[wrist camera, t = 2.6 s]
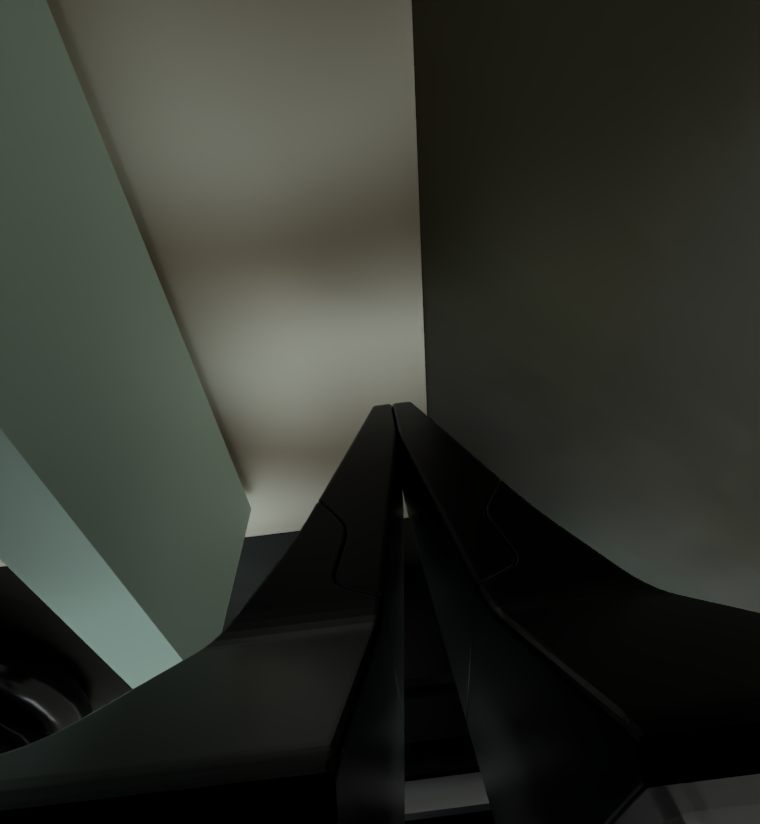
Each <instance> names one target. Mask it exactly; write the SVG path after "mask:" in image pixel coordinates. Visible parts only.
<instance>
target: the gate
mask: <svg viewBox="0 0 760 824" xmlns="http://www.w3.org/2000/svg"><path fill="white" fill-rule="evenodd" d="M250 513H251V507H250V504H249V502H248V499H247V497H246V494H245V492H244V489H243V487H242V484H241V482H240V479H239V477H238V474H237V472H236V469H235V467H234V465H233V462H232V460H231V457H230V455H229V452H228V450H227V447H226V445H225V442H224V440H223V437H222V435H221V432H220V430H219V427H218V425H217V422H216V420H215V417H214V415H213V412H212V410H211V408H210V405H209V403H208V400H207V398H206V395H205V393H204V390H203V388H202V385H201V383H200V380H199V378H198V375H197V373H196V370H195V368H194V365H193V363H192V360H191V358H190V355H189V353H188V351H187V348H186V346H185V343H184V341H183V338H182V336H181V333H180V331H179V328H178V326H177V323H176V321H175V318H174V316H173V313H172V311H171V308H170V306H169V303H168V301H167V298H166V296H165V294H164V291H163V289H162V286H161V284H160V281H159V279H158V276H157V274H156V271H155V269H154V266H153V264H152V261H151V259H150V256H149V254H148V251H147V249H146V246H145V244H144V241H143V239H142V237H141V234H140V232H139V229H138V227H137V224H136V222H135V219H134V217H133V214H132V212H131V209H130V207H129V204H128V202H127V199H126V197H125V194H124V192H123V189H122V187H121V184H120V182H119V180H118V177H117V175H116V172H115V170H114V167H113V165H112V162H111V160H110V157H109V155H108V152H107V150H106V147H105V145H104V142H103V140H102V137H101V135H100V132H99V130H98V127H97V125H96V123H95V120H94V118H93V115H92V113H91V110H90V108H89V105H88V103H87V100H86V98H85V95H84V93H83V90H82V88H81V85H80V83H79V80H78V78H77V75H76V73H75V70H74V68H73V66H72V63H71V61H70V58H69V56H68V53H67V51H66V48H65V46H64V43H63V41H62V38H61V36H60V33H59V31H58V28H57V26H56V23H55V21H54V18H53V16H52V13H51V11H50V9H49V6H48V4H47V1H46V0H0V560H1V561H2V562H3V563H4V564H6V565H7V566H8V567H9V568H10V569H11V570H12V571H13V572H14V573H15V574H16V575H17V576H18V577H19V578H20V579H21V580H22V581H23V582H24V583H25V584H26V585H27V586H28V587H29V588H30V589H31V590H32V591H33V592H34V593H35V594H36V595H37V596H38V597H39V598H40V599H41V600H42V601H43V602H44V603H45V604H46V605H47V606H48V607H50V608H51V609H52V610H53V611H54V612H55V613H56V614H57V615H58V616H59V617H60V618H61V619H62V620H63V621H64V622H65V623H66V624H67V625H68V626H69V627H70V628H71V629H72V630H73V631H74V632H75V633H76V634H77V635H78V636H79V637H80V638H81V639H82V640H83V641H84V642H85V643H86V644H87V645H88V646H89V647H90V648H91V649H92V650H94V651H95V652H96V653H97V654H98V655H99V656H100V657H101V658H102V659H103V660H104V661H105V662H106V663H107V664H108V665H109V666H110V667H111V668H112V669H113V670H114V671H115V672H116V673H117V674H118V675H119V676H120V677H121V678H122V679H123V680H124V681H125V682H126V683H127V684H128V685H129V686H130V687H131V688H132V689H134V688H136V687H138V686H139V685H141V684H143V683H144V682H146V681H148V680H150V679H151V678H153V677H155V676H157V675H158V674H160V673H162V672H164V671H165V670H167V669H169V668H171V667H172V666H174V665H176V664H178V663H179V662H181V661H183V660H185V659H186V658H188V657H190V656H192V655H193V654H195V653H197V652H198V651H200V650H202V649H203V648H204V647H206V646H207V645H208V644H210V643H211V642H212V641H213V640H214V639H215V638H216V637H218V636H219V635H220V634H221V633H222V629H223V625H224V621H225V617H226V613H227V608H228V604H229V600H230V596H231V592H232V588H233V583H234V579H235V575H236V571H237V567H238V563H239V558H240V554H241V550H242V546H243V542H244V538H245V533H246V529H247V525H248V521H249V517H250Z"/></svg>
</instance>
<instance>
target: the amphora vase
mask: <svg viewBox="0 0 760 824" xmlns="http://www.w3.org/2000/svg"><path fill="white" fill-rule="evenodd" d="M90 713H92V707H91V704H90V701H89V698H88V696H87V695H86V693H85V692H84V690H83V689H82V687H81V685H80V684H79V682H78V681H77V680H76V679H75V678H73V677H72V676H71V675H70V674H68V673H67V672H66V671H64V670H63V669H62V668H61V667H59V666H58V665H57V664H55V663H54V662H53V661H51V660H50V659H49V658H48V657H46V656H44V655H42V654H40V653H38V652H36V651H34V650H32V649H30V648H28V647H26V646H24V645H22V644H20V643H18V642H16V641H14V640H11V639H8V638H5V637H2V636H0V754H2V753H6V752H9V751H12V750H15V749H18V748H21V747H24V746H27V745H29V744H31V743H34V742H36V741H38V740H40V739H43V738H45V737H47V736H50V735H52V734H54V733H56V732H58V731H60V730H61V729H63V728H65V727H67V726H69V725H71V724H73V723H75V722H76V721H78V720H80V719H82V718H83V717H85V716H87V715H89V714H90Z"/></svg>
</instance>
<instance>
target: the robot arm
mask: <svg viewBox="0 0 760 824" xmlns="http://www.w3.org/2000/svg"><path fill="white" fill-rule="evenodd" d="M402 491H403V492H402ZM403 496H404V501H405V505H406V509H407V513H408V517H409V520H410V524H411V527H412V531H413V534H414V538H415V541H416V545H417V548H418V552H419V556H420V559H421V563H422V566H423V570H416V571H408V572H404V508H403ZM0 824H760V613H757V612H753V611H748V610H744V609H740V608H735V607H731V606H726V605H722V604H717V603H713V602H708V601H704V600H699V599H695V598H691V597H686V596H682V595H677V594H674V593H670V592H667V591H664V590H661V589H658V588H656V587H654V586H651V585H649V584H647V583H645V582H643V581H641V580H639V579H638V578H636V577H634V576H632V575H631V574H629V573H628V572H626V571H624V570H623V569H621V568H620V567H618V566H617V565H615V564H614V563H613V562H611V561H610V560H608V559H607V558H605V557H604V556H602V555H601V554H600V553H598V552H597V551H595V550H594V549H592V548H591V547H589V546H588V545H587V544H585V543H584V542H582V541H581V540H579V539H578V538H576V537H575V536H574V535H572V534H571V533H569V532H568V531H566V530H565V529H563V528H562V527H561V526H559V525H558V524H556V523H555V522H554V521H552V520H551V519H549V518H548V517H547V516H545V515H544V514H543V513H541V512H540V511H539V510H537V509H536V508H534V507H533V506H532V505H531V504H529V503H528V502H527V501H526V500H525V499H523V498H522V497H521V496H520V495H518V494H517V493H516V492H515V491H514V490H512V489H511V488H510V487H509V486H508V485H507V484H506V483H504V482H503V481H500V479H499V478H498V477H497V476H496V475H495V474H494V473H493V472H491V471H490V470H489V469H488V468H487V467H486V466H485V465H483V464H482V463H481V462H480V461H479V460H478V459H476V458H475V457H474V456H473V455H472V454H471V453H470V452H468V451H467V450H466V449H465V448H464V447H463V446H461V445H460V444H459V443H458V442H457V441H456V440H455V439H453V438H452V437H451V436H450V435H449V434H448V433H446V432H445V431H444V430H443V429H442V428H441V427H440V426H438V425H437V424H436V423H435V422H434V421H433V420H431V419H430V418H429V417H428V416H427V415H426V414H425V413H423V412H422V411H421V410H420V409H419V408H418V407H416V406H415V405H414V404H413V403H412V402H400V403H394V404H393V406H392V405H390V404H383V405H375V406H373V407H372V409H371V411H370V412H369V414H368V416H367V417H366V419H365V421H364V423H363V424H362V426H361V428H360V429H359V431H358V433H357V435H356V436H355V438H354V440H353V442H352V443H351V445H350V447H349V448H348V450H347V452H346V454H345V455H344V457H343V459H342V461H341V462H340V464H339V466H338V467H337V469H336V471H335V473H334V474H333V476H332V478H331V479H330V481H329V483H328V485H327V486H326V488H325V490H324V492H323V493H322V495H321V497H320V498H319V500H318V503H316V505H315V507H314V508H313V510H312V512H311V514H310V515H309V517H308V519H307V520H306V522H305V523H304V525H303V527H302V528H301V530H300V531H299V533H298V535H297V536H296V538H295V539H294V540H293V542H292V543H291V544H290V546H289V547H288V549H287V550H286V551H285V553H284V554H283V555H282V557H281V558H280V560H279V561H278V562H277V564H276V565H275V566H274V567H273V569H272V570H271V571H270V573H269V574H268V575H267V577H266V578H265V579H264V581H263V582H262V583H261V584H260V586H259V587H258V588H257V590H256V591H255V592H254V594H253V595H252V596H251V598H250V599H249V600H248V601H247V603H246V604H245V605H244V607H243V608H242V609H241V611H240V612H239V613H238V615H237V616H236V617H235V618H234V619H233V621H232V622H231V623H230V624H229V625H228V626H227V627H226V629H225V630H224V631H223V632H222V633H221V634H220V635H219V636H218V637H216V638H215V639H214V640H213V641H212V642H211V643H210V644H208V645H207V646H206V647H204V648H203V649H202V650H200V651H198V652H197V653H195V654H193V655H192V656H190V657H188V658H186V659H185V660H183V661H181V662H179V663H178V664H176V665H174V666H172V667H171V668H169V669H167V670H165V671H164V672H162V673H160V674H158V675H157V676H155V677H153V678H151V679H150V680H148V681H146V682H144V683H143V684H141V685H139V686H138V687H136V688H134V689H132V690H131V691H129V692H127V693H125V694H124V695H122V696H120V697H118V698H117V699H115V700H113V701H111V702H110V703H108V704H106V705H104V706H103V707H101V708H99V709H97V710H96V711H94V712H92V713H90V714H89V715H87V716H85V717H83V718H82V719H80V720H78V721H76V722H75V723H73V724H71V725H69V726H67V727H65V728H63V729H61V730H60V731H58V732H56V733H54V734H52V735H50V736H47V737H45V738H43V739H40V740H38V741H36V742H34V743H31V744H29V745H27V746H24V747H21V748H18V749H15V750H12V751H9V752H6V753H2V754H0Z"/></svg>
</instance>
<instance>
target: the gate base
mask: <svg viewBox="0 0 760 824" xmlns="http://www.w3.org/2000/svg"><path fill="white" fill-rule="evenodd" d="M46 1H47V4H48V6H49V9H50V11H51V13H52V16H53V18H54V21H55V23H56V26H57V28H58V31H59V33H60V36H61V38H62V41H63V43H64V46H65V48H66V51H67V53H68V56H69V58H70V61H71V63H72V66H73V68H74V70H75V73H76V75H77V78H78V80H79V83H80V85H81V88H82V90H83V93H84V95H85V98H86V100H87V103H88V105H89V108H90V110H91V113H92V115H93V118H94V120H95V123H96V125H97V127H98V130H99V132H100V135H101V137H102V140H103V142H104V145H105V147H106V150H107V152H108V155H109V157H110V160H111V162H112V165H113V167H114V170H115V172H116V175H117V177H118V180H119V182H120V184H121V187H122V189H123V192H124V194H125V197H126V199H127V202H128V204H129V207H130V209H131V212H132V214H133V217H134V219H135V222H136V224H137V227H138V229H139V232H140V234H141V237H142V239H143V241H144V244H145V246H146V249H147V251H148V254H149V256H150V259H151V261H152V264H153V266H154V269H155V271H156V274H157V276H158V279H159V281H160V284H161V286H162V289H163V291H164V294H165V296H166V298H167V301H168V303H169V306H170V308H171V311H172V313H173V316H174V318H175V321H176V323H177V326H178V328H179V331H180V333H181V336H182V338H183V341H184V343H185V346H186V348H187V351H188V353H189V355H190V358H191V360H192V363H193V365H194V368H195V370H196V373H197V375H198V378H199V380H200V383H201V385H202V388H203V390H204V393H205V395H206V398H207V400H208V403H209V405H210V408H211V410H212V412H213V415H214V417H215V420H216V422H217V425H218V427H219V430H220V432H221V435H222V437H223V440H224V442H225V445H226V447H227V450H228V452H229V455H230V457H231V460H232V462H233V465H234V467H235V469H236V472H237V474H238V477H239V479H240V482H241V484H242V487H243V489H244V492H245V494H246V497H247V499H248V502H249V504H250V507H251V513H250V517H249V521H248V525H247V529H246V533H245V537H251V536H259V535H267V534H276V533H284V532H292V531H300V530H301V528H302V527H303V525H304V523H305V522H306V520H307V519H308V517H309V515H310V514H311V512H312V510H313V508H314V507H315V505H316V503H318V500H319V498H320V497H321V495H322V493H323V492H324V490H325V488H326V486H327V485H328V483H329V481H330V479H331V478H332V476H333V474H334V473H335V471H336V469H337V467H338V466H339V464H340V462H341V461H342V459H343V457H344V455H345V454H346V452H347V450H348V448H349V447H350V445H351V443H352V442H353V440H354V438H355V436H356V435H357V433H358V431H359V429H360V428H361V426H362V424H363V423H364V421H365V419H366V417H367V416H368V414H369V412H370V411H371V409H372V407H373V406H375V405H383V404H390V405H392V406H393V404H394V403H400V402H412V403H413V404H414V405H415V406H416V407H418V408H419V409H420V410H421V411H422V412H423V413H425V414H426V415H427V403H426V376H425V349H424V322H423V295H422V268H421V241H420V214H419V187H418V160H417V133H416V106H415V79H414V52H413V25H412V0H46ZM402 492H403V491H402ZM403 508H404V518H408V513H407V509H406V505H405V501H404V496H403ZM2 566H7V565H6V564H4V563H3V562H2V561H1V560H0V567H2Z"/></svg>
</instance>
